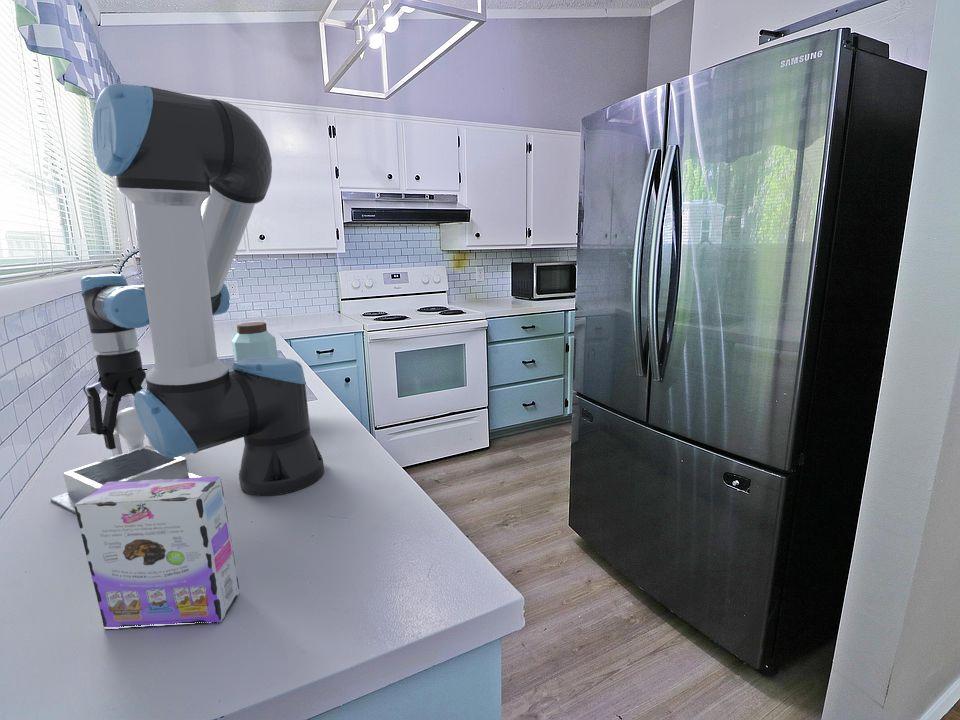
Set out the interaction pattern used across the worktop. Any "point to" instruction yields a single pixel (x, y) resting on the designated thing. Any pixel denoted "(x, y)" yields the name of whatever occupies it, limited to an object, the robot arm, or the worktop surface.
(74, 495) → the flange
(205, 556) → the candy box
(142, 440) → the lightbulb
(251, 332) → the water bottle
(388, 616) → the worktop surface
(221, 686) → the worktop surface
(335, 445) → the worktop surface
